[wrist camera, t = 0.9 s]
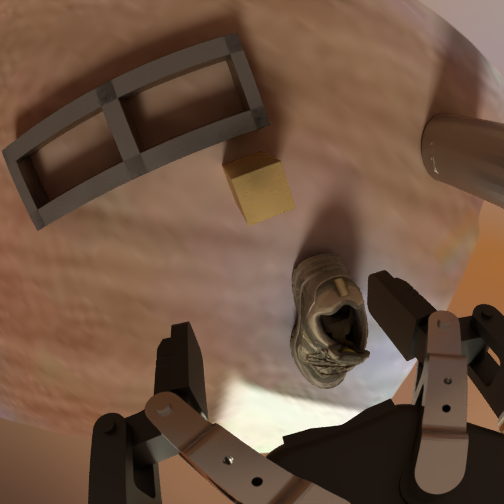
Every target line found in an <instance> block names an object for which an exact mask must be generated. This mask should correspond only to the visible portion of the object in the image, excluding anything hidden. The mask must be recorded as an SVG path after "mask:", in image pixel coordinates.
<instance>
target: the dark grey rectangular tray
mask: <svg viewBox="0 0 504 504" xmlns="http://www.w3.org/2000/svg"><path fill="white" fill-rule="evenodd" d="M225 60H226V62H227V64H228V67H229V70H230V72H231V75H232V78H233V81H234V83H235V86H236V89H237V91H238V94H239V97H240V100H241V103H242V105H243V108H244V111H243V112H240V113H237V114H234V115H231V116H228V117H225V118H223V119H220V120H217V121H214V122H212V123H209V124H206V125H204V126H201V127H198V128H196V129H193V130H191V131H188V132H186V133H183V134H181V135H179V136H176V137H174V138H171V139H169V140H167V141H164V142H162V143H160V144H157V145H155V146H153V147H151V148H149V149H146V150H145V149H144V146H143V144H142V142H141V139H140V137H139V134H138V132H137V129H136V127H135V124H134V122H133V119H132V117H131V114H130V112H129V109H128V107H127V104H126V101H125V100H126V99H128V98H130V97H132V96H134V95H136V94H139V93H141V92H143V91H145V90H147V89H150V88H152V87H154V86H157V85H159V84H162V83H164V82H166V81H169V80H171V79H174V78H176V77H179V76H182V75H184V74H187V73H190V72H192V71H195V70H198V69H201V68H204V67H207V66H210V65H213V64H216V63H219V62H222V61H225ZM102 111H103V112H104V115H105V117H106V120H107V123H108V125H109V128H110V130H111V133H112V135H113V137H114V140H115V142H116V145H117V147H118V150H119V152H120V154H121V157H122V159H123V161H121V162H119V163H117V164H115V165H113V166H111V167H109V168H107V169H105V170H103V171H102V172H100V173H98V174H96V175H94V176H92V177H90V178H88V179H87V180H85V181H83V182H81V183H79V184H78V185H76V186H74V187H72V188H71V189H69V190H67V191H66V192H64V193H62V194H60V195H59V196H57V197H55V198H54V199H52V200H51V201H49V199H48V197H47V195H46V192H45V190H44V188H43V186H42V184H41V181H40V179H39V177H38V175H37V172H36V170H35V168H34V165H33V163H32V160H31V158H30V155H32V154H33V153H35V152H36V151H38V150H39V149H40V148H42V147H43V146H45V145H46V144H48V143H49V142H51V141H53V140H54V139H56V138H57V137H59V136H60V135H62V134H64V133H65V132H67V131H69V130H70V129H72V128H74V127H75V126H77V125H79V124H80V123H82V122H84V121H86V120H87V119H89V118H91V117H93V116H95V115H96V114H98V113H100V112H102ZM269 125H270V123H269V120H268V117H267V114H266V111H265V108H264V105H263V102H262V99H261V97H260V94H259V91H258V88H257V85H256V82H255V80H254V77H253V74H252V71H251V69H250V66H249V63H248V61H247V58H246V55H245V53H244V50H243V47H242V45H241V42H240V39H239V37H238V34H237V33H234V34H230V35H226V36H223V37H219V38H216V39H213V40H209V41H206V42H203V43H200V44H197V45H194V46H191V47H188V48H185V49H182V50H180V51H177V52H174V53H172V54H169V55H166V56H164V57H161V58H159V59H156V60H154V61H152V62H149V63H147V64H145V65H142V66H140V67H138V68H136V69H133V70H131V71H129V72H127V73H125V74H123V75H121V76H118V77H116V78H114V79H112V80H110V81H108V82H107V83H105V84H103V85H101V86H99V87H97V88H95V89H93V90H91V91H90V92H88V93H86V94H84V95H83V96H81V97H79V98H77V99H76V100H74V101H72V102H71V103H69V104H67V105H66V106H64V107H62V108H61V109H59V110H58V111H56V112H55V113H53V114H51V115H50V116H48V117H47V118H45V119H44V120H42V121H41V122H40V123H38V124H37V125H35V126H34V127H32V128H31V129H30V130H28V131H27V132H26V133H24V134H23V135H21V136H20V137H19V138H17V139H16V140H15V141H14V142H12V143H11V144H10V145H8V146H7V147H6V148H5V149H3V150H2V153H3V156H4V158H5V161H6V164H7V166H8V169H9V171H10V174H11V176H12V178H13V181H14V183H15V185H16V188H17V190H18V192H19V194H20V196H21V199H22V201H23V203H24V205H25V207H26V209H27V211H28V213H29V215H30V217H31V219H32V221H33V223H34V225H35V227H36V229H37V231H38V230H40V229H42V228H43V227H45V226H47V225H48V224H50V223H52V222H53V221H55V220H57V219H58V218H60V217H62V216H64V215H65V214H67V213H69V212H71V211H73V210H74V209H76V208H78V207H80V206H82V205H83V204H85V203H87V202H89V201H91V200H93V199H95V198H97V197H99V196H100V195H102V194H104V193H106V192H108V191H110V190H112V189H114V188H116V187H118V186H120V185H122V184H124V183H126V182H129V181H131V180H133V179H135V178H137V177H139V176H141V175H143V174H146V173H148V172H150V171H152V170H154V169H157V168H159V167H161V166H163V165H166V164H168V163H170V162H173V161H175V160H177V159H180V158H182V157H185V156H187V155H189V154H192V153H194V152H197V151H199V150H202V149H204V148H207V147H210V146H212V145H215V144H217V143H220V142H223V141H226V140H228V139H231V138H234V137H237V136H239V135H242V134H245V133H248V132H251V131H254V130H257V129H260V128H263V127H266V126H269Z"/></svg>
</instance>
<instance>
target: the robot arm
mask: <svg viewBox="0 0 504 504" xmlns="http://www.w3.org/2000/svg"><path fill="white" fill-rule="evenodd" d="M421 148H422V158H423V162H424V165H425V167H426V170H427V171H428V173H429V174H430V175H431V176H432V177H433V178H434V179H436V180H438V181H441V182H443V183H446V184H448V185H451V186H453V187H456V188H458V189H460V190H463V191H465V192H468V193H470V194H472V195H475V196H477V197H479V198H481V199H484V200H486V201H488V202H490V203H493V204H495V205H497V206H499V207H501V208H503V209H504V123H499V122H494V121H489V120H483V119H478V118H472V117H466V116H459V115H452V114H444V113H442V114H438V115H436V116H434V117H433V118H432V119H431V120H430V121H429V123H428V124H427V126H426V128H425V131H424V133H423V138H422V147H421ZM367 305H368V309H369V312H370V314H371V315H372V317H373V318H374V319H375V320H376V322H377V323H378V324H379V326H380V327H381V328H382V329H383V331H384V332H385V333H386V335H387V336H388V337H389V338H390V340H391V341H392V342H393V344H394V345H395V346H396V347H397V349H398V350H399V351H400V353H401V354H402V355H403V357H404V358H405V359H406V361H409V360H411V359H413V358H415V357H416V358H417V360H418V362H417V368H416V376H415V384H414V391H413V397H412V402H411V404H398V405H394V403H393V402H392V400H391V399H388V400H386V401H384V402H382V403H379V404H377V405H374V406H372V407H370V408H367V409H365V410H364V411H362V412H361V413H360V414H358V415H357V416H355V417H354V418H352V419H351V420H349V421H348V422H346V423H344V424H342V425H338V426H330V427H321V428H311V429H308V430H304V431H301V432H297V433H294V434H290V435H287V436H283V441H284V444H283V445H281V446H279V447H277V448H276V449H274V450H273V451H271V452H270V453H269V454H268V455H267V456H266V457H264V456H263V455H261V454H260V453H258V452H257V451H255V450H254V449H252V448H251V447H249V446H248V445H246V444H245V443H244V442H242V441H241V440H239V439H238V438H237V437H235V436H234V435H233V434H231V433H230V432H228V431H227V430H226V429H224V428H223V427H222V426H220V425H219V424H216V423H215V424H211V423H210V422H209V421H208V412H207V402H206V392H205V381H204V369H203V359H202V354H201V350H200V347H199V345H198V342H197V340H196V337H195V334H194V332H193V329H192V327H191V324H190V322H184V323H179V324H175V325H172V326H171V338H166V339H163V340H162V341H161V343H160V345H159V347H158V348H157V360H156V371H155V384H154V396H152V397H151V398H150V399H149V400H148V402H147V403H146V405H145V409H144V410H143V411H141V412H139V413H137V414H134V415H132V416H129V417H127V418H123V416H121V415H120V414H117V413H108V414H105V415H103V416H101V417H100V418H99V419H98V420H97V421H96V423H95V425H94V428H93V435H92V446H91V458H90V472H89V497H88V504H162V499H161V490H160V480H159V468H158V462H160V461H162V460H165V459H167V458H170V457H172V456H174V455H177V454H179V455H180V456H181V457H182V458H183V459H184V460H185V461H186V462H187V463H188V464H189V465H190V466H191V467H192V468H193V469H194V470H196V471H197V472H198V473H199V474H200V475H201V476H202V477H203V478H205V479H206V480H207V481H208V482H209V483H210V484H211V485H212V486H213V487H214V488H216V489H217V490H218V491H219V492H220V493H222V494H223V495H224V496H225V497H226V498H228V499H229V500H230V501H232V502H233V503H234V504H504V316H503V315H502V314H501V313H500V312H499V311H498V310H497V309H496V308H495V307H493V306H491V305H487V304H481V305H478V306H476V307H475V308H474V310H473V314H472V316H468V317H462V318H457V317H456V316H455V315H454V314H453V313H451V312H448V311H437V310H436V309H435V308H434V307H433V306H432V305H431V304H430V303H429V302H428V301H427V300H426V299H424V298H423V297H422V296H421V295H419V293H418V292H417V291H416V290H415V289H413V287H412V286H411V285H410V284H408V283H407V282H406V281H404V280H402V279H399V278H393V277H392V276H391V275H390V274H389V273H388V272H387V271H386V270H383V271H380V272H377V273H373V274H370V275H369V277H368V297H367ZM489 347H490V348H491V349H492V350H493V352H494V353H495V354H496V355H497V356H498V358H499V360H500V366H499V365H498V364H497V363H496V361H494V359H493V358H492V357H491V355H490V354H489V353H488V349H489ZM467 375H468V376H469V377H470V379H471V380H472V381H473V383H474V384H475V386H476V387H477V388H478V390H479V391H480V393H481V394H482V395H483V397H484V398H485V400H486V401H487V403H488V404H489V405H490V407H491V408H492V410H493V411H494V413H495V414H496V416H497V417H498V419H499V420H498V427H499V431H498V432H496V431H493V430H490V429H486V428H483V427H480V426H477V425H474V424H471V423H468V422H467V394H468V388H467V387H468V383H467Z"/></svg>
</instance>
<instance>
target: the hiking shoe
mask: <svg viewBox="0 0 504 504" xmlns="http://www.w3.org/2000/svg"><path fill="white" fill-rule="evenodd" d="M292 283H293V286H292V291H293V294H294V302H295V305H296V308H297V313H298V321H297V325H296V328H294V329H293V332H292V336H293V337H292V338H291V341H290V348H292V352H291V353H292V356H293V358H294V361H295V363H296V365H297V367H298V369H299V370H300V372H301V374H302V375H303V376H304V377H305V378H306V379H307V380H308V381H309V382H310V383H311V384H312V385H314V386H316V387H318V388H324V389H329V388H334V387H336V386H337V385H339V384H340V383H341V382H342V381H343V379H344V377H345V375H346V373H347V372H348V371H347V370H349V371H350V370H352V369H353V368H354V367H355V366H356V365H358V364H360V363H362V362H364V361H365V360H366V359H367V358H368V357H369V355H370V352H369V351H368V350H365V347H366V344H367V337H368V323H367V317H366V312H365V305H364V300H363V297H362V293H361V292H360V288H359V287H358V286H357V284H356V283H355V282H354V281H353V280H352V278H350V276H349V273H348V270H347V269H346V268H345V267H344V266H343V263H342V260H341V259H340V258H339V256H338V255H335V254H332V253H323V254H319V255H316V256H313V257H309V258H307V259H305V260H304V261H302V262H301V263H300V264H299V265H298V266H297V268H296V269H294V273H293V277H292ZM331 335H332V337H331Z"/></svg>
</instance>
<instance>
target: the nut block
mask: <svg viewBox="0 0 504 504" xmlns="http://www.w3.org/2000/svg"><path fill="white" fill-rule="evenodd" d="M222 167H223V170H224V173H225V175H226V178H227V181H228V183H229V186H230V189H231V191H232V194H233V197H234V199H235V202H236V204H237V206H238V208H239V209H240V211H241V213H242V215H243V217H244V219H245V220H246V222H247V224H248V226H250V225H253V224H255V223H258V222H261V221H263V220H266V219H268V218H271V217H273V216H276V215H279V214H281V213H284V212H286V211H289V210H292V209H294V208H295V205H294V202H293V198H292V195H291V192H290V188H289V185H288V182H287V178H286V175H285V172H284V169H283V166H282V162H281V161H280V160H278V159H276V158H274V157H271V156H269V155H267V154H265V153H263V152H261V151H260V152H257V153H254V154H252V155H249V156H246V157H243V158H241V159H238V160H235V161H232V162H230V163H227V164H225V165H222Z"/></svg>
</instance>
